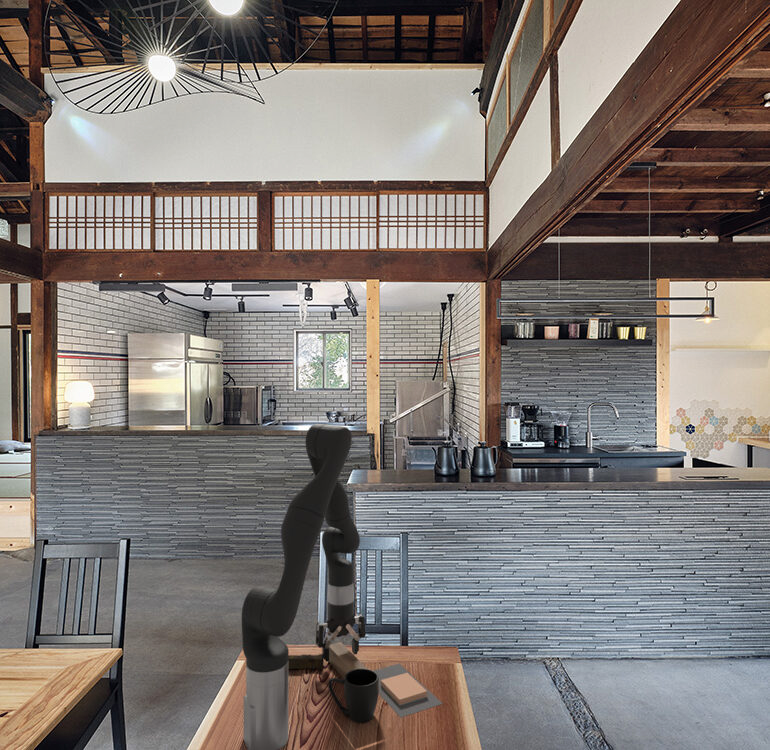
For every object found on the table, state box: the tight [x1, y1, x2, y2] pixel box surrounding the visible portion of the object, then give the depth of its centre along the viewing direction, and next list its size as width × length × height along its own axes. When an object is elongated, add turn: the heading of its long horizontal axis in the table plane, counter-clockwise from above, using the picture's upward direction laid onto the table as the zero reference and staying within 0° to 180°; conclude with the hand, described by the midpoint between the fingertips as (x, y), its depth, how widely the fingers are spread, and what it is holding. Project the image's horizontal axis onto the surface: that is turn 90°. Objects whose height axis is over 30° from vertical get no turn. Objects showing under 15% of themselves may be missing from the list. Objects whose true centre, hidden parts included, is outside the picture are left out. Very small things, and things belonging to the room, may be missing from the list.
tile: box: [381, 673, 427, 706], centre depth 138 cm, size 8×2×10 cm
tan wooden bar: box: [328, 641, 368, 679], centre depth 147 cm, size 4×18×5 cm, turn 29°
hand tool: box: [289, 653, 325, 671], centre depth 151 cm, size 19×4×5 cm, turn 88°
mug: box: [327, 668, 379, 724], centre depth 128 cm, size 8×12×10 cm
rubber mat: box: [373, 663, 444, 718], centre depth 139 cm, size 12×22×1 cm, turn 28°
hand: (340, 656), depth 151 cm, fingers open, 8 cm apart
